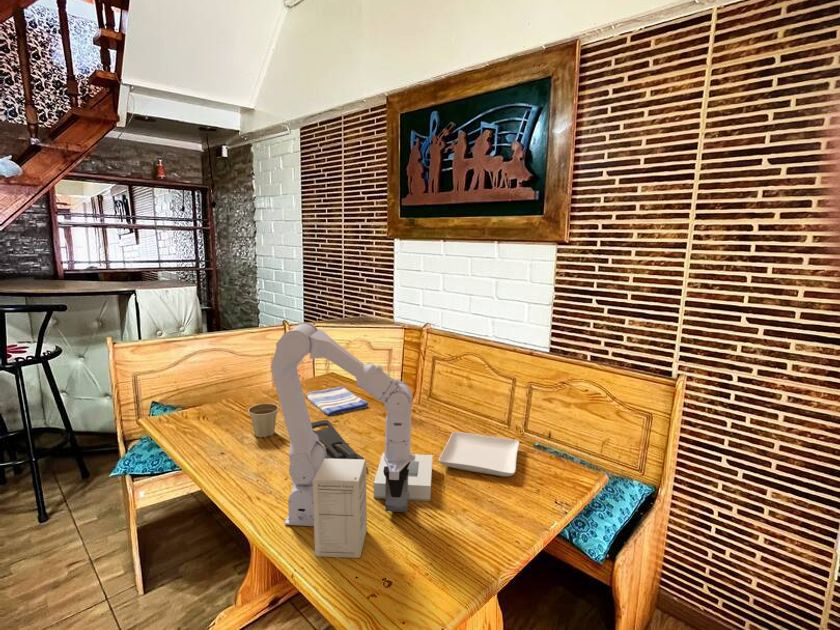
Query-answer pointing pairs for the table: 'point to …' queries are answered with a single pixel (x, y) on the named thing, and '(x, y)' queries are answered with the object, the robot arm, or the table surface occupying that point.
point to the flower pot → (263, 419)
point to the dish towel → (336, 400)
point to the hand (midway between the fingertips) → (396, 492)
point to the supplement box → (340, 508)
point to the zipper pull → (334, 442)
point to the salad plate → (480, 454)
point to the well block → (409, 478)
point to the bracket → (397, 499)
